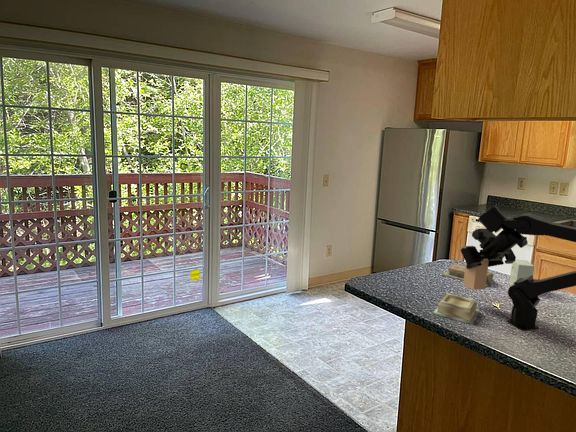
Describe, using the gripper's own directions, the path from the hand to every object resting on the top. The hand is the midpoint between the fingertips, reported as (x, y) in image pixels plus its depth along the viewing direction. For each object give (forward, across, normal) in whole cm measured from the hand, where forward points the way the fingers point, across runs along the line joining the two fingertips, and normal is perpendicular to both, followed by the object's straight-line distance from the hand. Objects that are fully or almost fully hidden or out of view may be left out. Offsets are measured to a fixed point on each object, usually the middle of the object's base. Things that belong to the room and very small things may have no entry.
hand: (473, 267), depth 147 cm
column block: (+4, 0, +6) cm, 7 cm away
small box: (+14, -31, +3) cm, 35 cm away
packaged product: (+24, -19, -7) cm, 31 cm away
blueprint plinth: (+5, +10, +14) cm, 18 cm away
